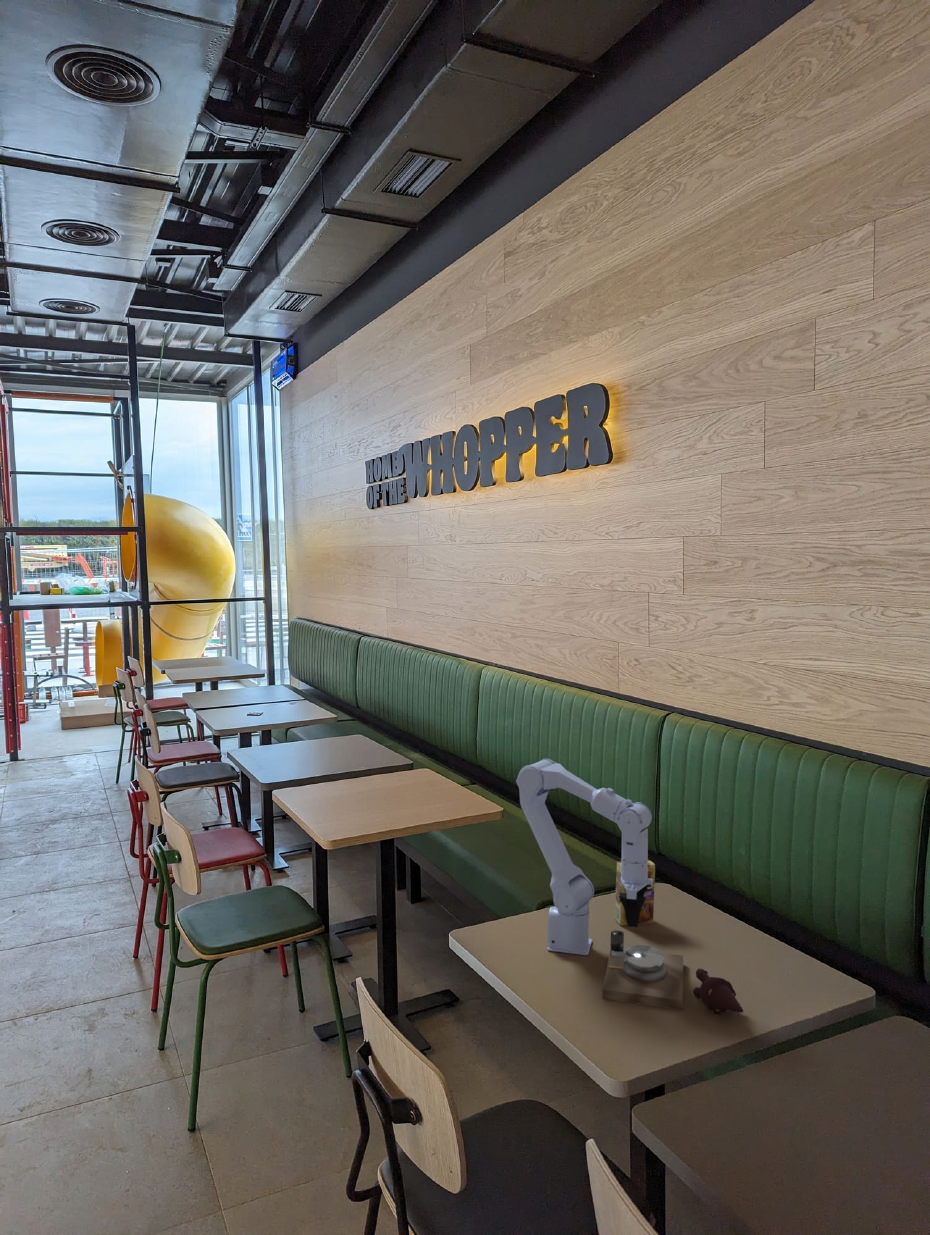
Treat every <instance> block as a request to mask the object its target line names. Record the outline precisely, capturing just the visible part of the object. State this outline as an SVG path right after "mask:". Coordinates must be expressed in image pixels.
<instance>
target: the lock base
mask: <svg viewBox="0 0 930 1235" xmlns="http://www.w3.org/2000/svg"><path fill="white" fill-rule="evenodd" d="M611 953H612V950H611V949H610V952H609V956H608V959H607V966H606V970H605V975H604V979H603V984H602V989H601V990H602V994H601V995H602V996H601V997H602V998H601V999H602V1000H608V1001H616V1002H623V1003H630V1004H636V1003H639V1004H638V1005H645V1006H651V1007H658V1006H659V1008H667V1009H673V1010H680V1011H682V1010H683V1001H684V999H683V994H684V993H683V992H684V955H682V954H673V953H665V952H663V954H664V967H663V969H662V970H660V971H658V972H653V973H645V972H639V971H636V970H633V969H631V968H630V967H628V966H627V964H626V958H623V957H617V956H612V955H611Z"/></svg>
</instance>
